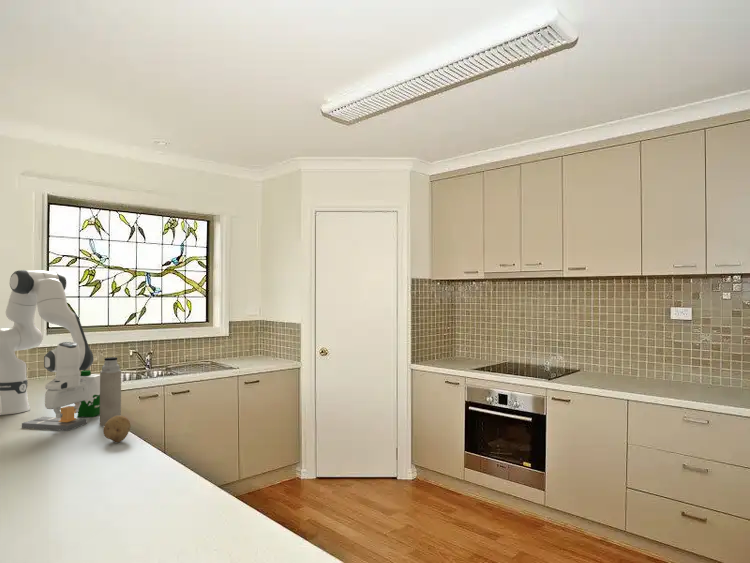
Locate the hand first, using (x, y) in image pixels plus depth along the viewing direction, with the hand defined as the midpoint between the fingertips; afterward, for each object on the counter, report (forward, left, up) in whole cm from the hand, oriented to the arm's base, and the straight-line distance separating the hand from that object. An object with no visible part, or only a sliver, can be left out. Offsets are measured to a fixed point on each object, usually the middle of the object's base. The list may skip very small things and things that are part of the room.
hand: (67, 415), depth 216 cm
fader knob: (0, 0, -2) cm, 2 cm away
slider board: (-6, 0, -5) cm, 8 cm away
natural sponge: (+35, -17, -5) cm, 39 cm away
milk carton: (-5, +19, -5) cm, 20 cm away
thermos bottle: (+15, +7, -5) cm, 17 cm away
